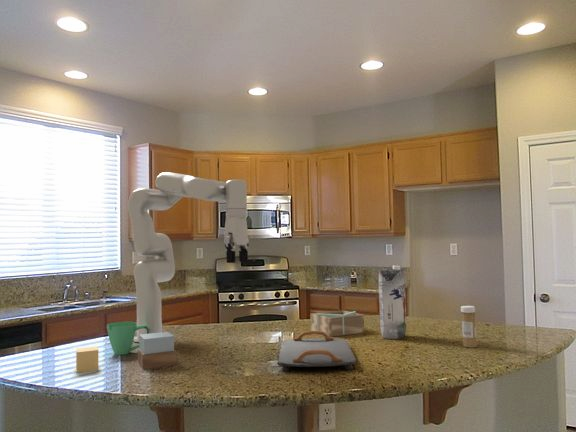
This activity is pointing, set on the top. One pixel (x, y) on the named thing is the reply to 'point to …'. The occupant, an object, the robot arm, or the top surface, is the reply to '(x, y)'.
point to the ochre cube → (87, 359)
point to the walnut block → (156, 359)
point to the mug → (123, 336)
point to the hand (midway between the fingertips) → (237, 262)
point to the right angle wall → (335, 316)
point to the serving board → (315, 352)
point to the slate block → (156, 342)
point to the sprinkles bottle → (468, 326)
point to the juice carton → (392, 303)
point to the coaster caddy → (337, 323)
